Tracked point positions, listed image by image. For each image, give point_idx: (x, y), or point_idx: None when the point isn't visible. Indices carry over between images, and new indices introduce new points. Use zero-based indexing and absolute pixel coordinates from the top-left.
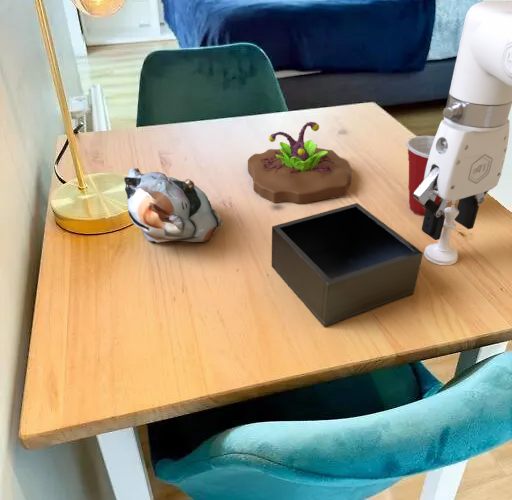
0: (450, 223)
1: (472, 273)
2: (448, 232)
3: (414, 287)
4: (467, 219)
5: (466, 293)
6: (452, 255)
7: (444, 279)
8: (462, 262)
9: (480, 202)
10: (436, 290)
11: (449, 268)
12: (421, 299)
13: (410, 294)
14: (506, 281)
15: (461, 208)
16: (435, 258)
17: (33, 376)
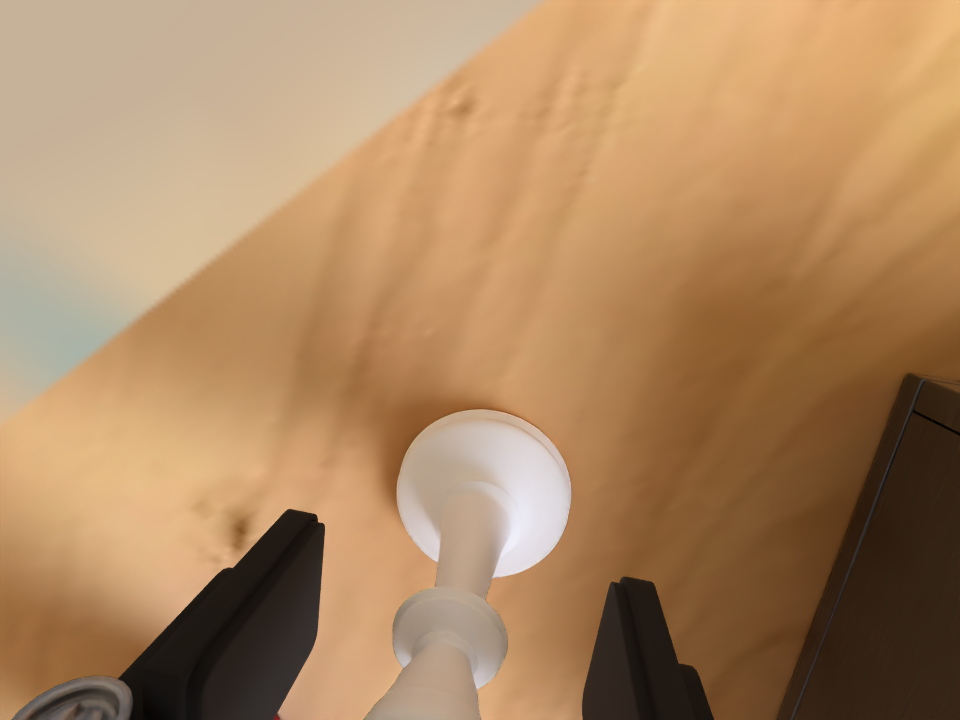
0: (456, 643)
1: (472, 297)
2: (468, 582)
3: (953, 390)
4: (290, 593)
5: (658, 203)
6: (470, 446)
7: (643, 355)
8: (434, 389)
9: (85, 697)
10: (768, 321)
11: (536, 398)
12: (911, 320)
13: (943, 379)
14: (377, 138)
15: (253, 718)
16: (561, 487)
17: None
